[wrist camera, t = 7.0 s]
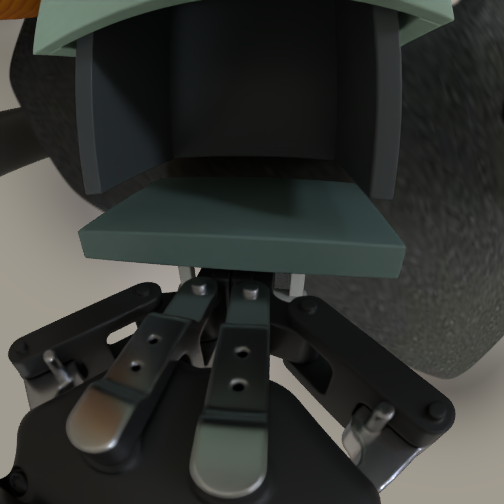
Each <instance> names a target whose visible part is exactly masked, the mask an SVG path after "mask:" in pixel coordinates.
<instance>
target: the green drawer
mask: <svg viewBox="0 0 504 504" xmlns="http://www.w3.org/2000/svg"><path fill="white" fill-rule="evenodd" d="M75 96H76V119H77V132H78V143H79V152H80V160H81V168H82V175H83V181H84V187H85V193H86V195H91V194H102V193H104V192H106V191H107V190H109V189H111V188H113V187H115V186H117V185H119V184H121V183H123V182H125V181H127V180H129V179H130V178H132V177H135V176H137V175H139V174H141V173H143V172H145V171H147V170H149V169H151V168H153V167H155V166H158V165H160V164H162V163H164V162H166V161H169V160H171V159H173V158H193V157H286V158H305V159H320V160H332V161H336V162H337V163H338V164H339V165H340V166H341V167H342V168H343V169H344V170H345V171H346V173H347V174H348V175H349V176H350V177H351V178H352V179H353V180H354V181H355V182H356V183H357V184H358V186H359V187H360V188H361V189H362V190H363V191H364V192H365V193H366V195H367V196H368V197H369V198H373V199H382V200H392V199H393V195H394V188H395V181H396V174H397V165H398V156H399V145H400V132H401V114H402V59H401V42H400V30H399V21H398V12H397V10H394V9H390V8H386V7H382V6H378V5H373V4H369V3H364V2H358V1H353V0H199V1H193V2H188V3H183V4H178V5H173V6H169V7H165V8H161V9H157V10H154V11H150V12H146V13H143V14H140V15H137V16H133V17H130V18H127V19H124V20H122V21H119V22H116V23H113V24H111V25H108V26H106V27H103V28H101V29H98V30H96V31H94V32H91V33H89V34H87V35H85V36H82V37H80V38H78V39H77V48H76V70H75ZM358 186H357V185H356V184H355V183H347V182H336V181H323V180H309V179H291V178H267V177H178V178H160V179H158V180H157V181H155V182H153V183H151V184H150V185H148V186H146V187H145V188H143V189H141V190H140V191H138V192H136V193H135V194H133V195H131V196H130V197H128V198H126V199H125V200H123V201H122V202H120V203H119V204H117V205H115V206H114V207H112V208H111V209H109V210H108V211H106V212H105V213H103V214H102V215H100V216H99V217H97V218H96V219H95V220H93V221H92V222H90V223H89V224H87V225H86V226H84V227H83V228H82V229H80V230H79V231H78V234H79V238H80V241H81V245H82V249H83V252H84V255H85V257H86V258H93V259H103V260H115V261H125V262H137V263H148V264H160V265H173V266H178V268H179V274H180V280H181V284H180V285H179V288H178V290H179V289H180V287H181V286H182V285H183V283H184V282H186V281H187V280H189V279H191V278H195V277H196V276H195V268H194V267H199V268H213V269H227V270H242V271H257V272H273V273H290V274H291V275H290V287H289V289H274V291H273V294H274V295H275V296H276V297H278V298H279V299H281V300H283V301H286V302H291V300H293V299H294V298H296V297H299V296H307V293H306V291H305V290H303V288H304V280H305V274H309V275H328V276H349V277H372V278H398V276H399V273H400V269H401V266H402V262H403V259H404V255H405V251H406V246H405V244H404V243H403V242H402V240H401V239H400V238H399V236H398V235H397V234H396V232H395V231H394V230H393V228H392V227H391V226H390V225H389V223H388V222H387V221H386V220H385V218H384V217H383V216H382V215H381V213H380V212H379V211H378V210H377V208H376V207H375V206H374V205H373V204H372V202H371V201H370V200H369V199H368V198H367V197H366V195H365V194H364V193H363V192H362V191H361V190H360V188H359V187H358Z"/></svg>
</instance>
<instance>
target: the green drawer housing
mask: <svg viewBox="0 0 504 504" xmlns="http://www.w3.org/2000/svg"><path fill="white" fill-rule="evenodd" d="M193 1H199V0H41V3H40V8H39V13H38V18H37V24H36V31H35V38H34V47H33V54H34V55H56V56H70V57H76V48H77V39H78V38H80V37H82V36H85V35H87V34H89V33H91V32H94V31H96V30H98V29H101V28H103V27H106V26H108V25H111V24H113V23H116V22H119V21H122V20H124V19H127V18H130V17H133V16H137V15H140V14H143V13H146V12H150V11H154V10H157V9H161V8H165V7H169V6H173V5H178V4H183V3H188V2H193ZM353 1H358V2H364V3H369V4H373V5H378V6H382V7H386V8H390V9H394V10H397V12H398V21H399V30H400V42H401V46H402V45H404V44H406V43H408V42H410V41H412V40H414V39H416V38H418V37H420V36H422V35H424V34H426V33H428V32H430V31H432V30H434V29H436V28H438V27H440V26H441V25H445V24H447V23H449V22H452V21H453V20H454V15H453V9H452V4H451V0H353Z"/></svg>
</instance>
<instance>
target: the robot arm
mask: <svg viewBox="0 0 504 504" xmlns="http://www.w3.org/2000/svg"><path fill="white" fill-rule="evenodd" d="M274 282H275V273H273V272H257V271H242V270H227V269H213V268H201V270H200V272H199V274H198V276H197V277H195V278H191V279H189V280H187V281H186V282H184V283H183V285H182V286H181V287H180V289H179V290H178V291H177V292H169V293H162V292H161V288H160V286H159V285H158V284H156V283H152V282H144V283H140V284H137V285H135V286H132V287H130V288H128V289H126V290H123V291H121V292H119V293H117V294H114V295H112V296H110V297H108V298H106V299H103V300H101V301H99V302H97V303H94V304H92V305H90V306H88V307H86V308H83V309H81V310H79V311H77V312H75V313H72V314H70V315H68V316H66V317H64V318H61V319H59V320H57V321H55V322H53V323H51V324H49V325H46V326H44V327H42V328H40V329H38V330H36V331H34V332H31V333H29V334H27V335H25V336H23V337H21V338H19V339H17V340H16V341H15V342H14V343H13V344H12V345H11V347H10V349H9V352H8V357H9V359H10V361H11V362H12V364H13V365H14V366H15V368H16V369H17V370H18V372H19V373H20V375H21V377H22V378H23V379H24V383H25V388H26V392H27V397H28V402H29V406H30V411H29V412H28V413H27V414H26V415H25V417H24V418H23V419H22V421H21V423H20V426H19V429H18V433H17V449H16V456H15V461H14V465H13V468H12V470H11V472H10V473H9V474H8V475H7V476H6V477H4V478H2V479H0V504H381V501H380V496H379V493H380V492H381V491H382V490H383V489H384V488H385V487H386V486H388V485H389V484H390V483H391V482H392V481H393V480H394V479H395V478H396V477H397V476H398V475H399V474H400V473H401V472H402V471H403V470H404V469H405V468H406V467H407V466H408V465H409V464H410V463H411V461H412V460H413V459H414V458H415V457H416V456H418V455H419V454H421V453H422V452H423V451H424V450H426V449H427V448H428V447H429V446H430V445H432V444H433V443H434V442H435V441H436V440H438V439H439V438H440V437H441V436H442V435H443V434H444V433H445V432H447V431H448V430H449V429H450V428H451V426H452V425H453V423H454V420H455V409H454V406H453V404H452V402H451V401H450V400H449V399H448V398H447V397H446V396H445V395H444V394H442V393H441V392H440V391H438V390H437V389H436V388H435V387H433V386H432V385H431V384H429V383H428V382H427V381H426V380H424V379H423V378H422V377H420V376H419V375H418V374H417V373H416V372H414V371H413V370H412V369H410V368H409V367H408V366H407V365H405V364H404V363H403V362H402V361H400V360H399V359H398V358H396V357H395V356H394V355H393V354H391V353H390V352H389V351H387V350H386V349H385V348H384V347H382V346H381V345H380V344H378V343H377V342H376V341H375V340H373V339H372V338H371V337H369V336H368V335H367V334H366V333H364V332H363V331H362V330H360V329H359V328H358V327H357V326H355V325H354V324H353V323H351V322H350V321H349V320H348V319H346V318H345V317H344V316H342V315H341V314H340V313H339V312H337V311H336V310H335V309H333V308H332V307H331V306H330V305H328V304H327V303H326V302H324V301H323V300H322V299H320V298H317V297H314V296H299V297H296V298H294V299H293V300H291V302H286V301H283V300H281V299H279V298H278V297H276V296H275V295H274V294H273V291H274ZM133 322H136V325H137V328H138V329H137V330H136V331H135V333H134V334H132V335H130V336H128V337H126V338H124V339H122V340H120V341H118V342H116V343H114V344H107V337H108V336H109V334H110V333H112V332H115V331H116V330H118V329H121V328H123V327H125V326H127V325H129V324H131V323H133ZM270 355H273V356H276V357H279V358H282V359H283V363H284V365H285V366H286V368H287V369H288V370H289V371H290V372H291V373H292V374H293V375H294V376H295V377H296V378H297V380H298V381H299V382H300V383H301V384H302V385H303V386H304V387H305V388H306V389H307V390H308V391H309V392H310V393H311V395H312V396H313V397H314V398H315V399H316V400H317V401H318V402H319V403H320V404H321V405H322V406H323V407H324V408H325V409H326V410H327V411H328V412H329V413H330V414H331V415H332V416H333V417H334V418H335V419H336V420H337V421H338V422H339V423H340V424H341V425H342V426H343V427H344V428H345V430H344V432H343V434H342V444H343V446H344V448H345V450H346V451H347V452H348V454H349V456H350V458H348V457H347V455H346V454H345V453H344V452H343V451H342V450H341V449H340V448H339V446H338V445H337V444H336V443H335V442H334V441H333V440H332V439H331V437H330V436H329V435H328V434H327V433H326V432H325V431H324V429H323V428H322V427H321V426H320V425H319V424H318V423H317V421H316V420H315V419H314V418H313V417H312V416H311V414H310V413H309V412H308V411H307V410H306V408H305V407H304V406H303V405H302V404H301V402H300V401H299V400H298V399H297V398H296V397H295V396H294V395H293V394H292V393H291V392H290V391H289V390H287V389H286V388H284V387H283V386H281V385H279V384H278V383H275V382H273V381H271V380H269V367H270Z"/></svg>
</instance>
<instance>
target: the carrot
mask: <svg viewBox="0 0 504 504" xmlns="http://www.w3.org/2000/svg"><path fill="white" fill-rule="evenodd" d="M40 3H41V0H0V20H7V19H22V18H33V17H38V13H39V8H40Z"/></svg>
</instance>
